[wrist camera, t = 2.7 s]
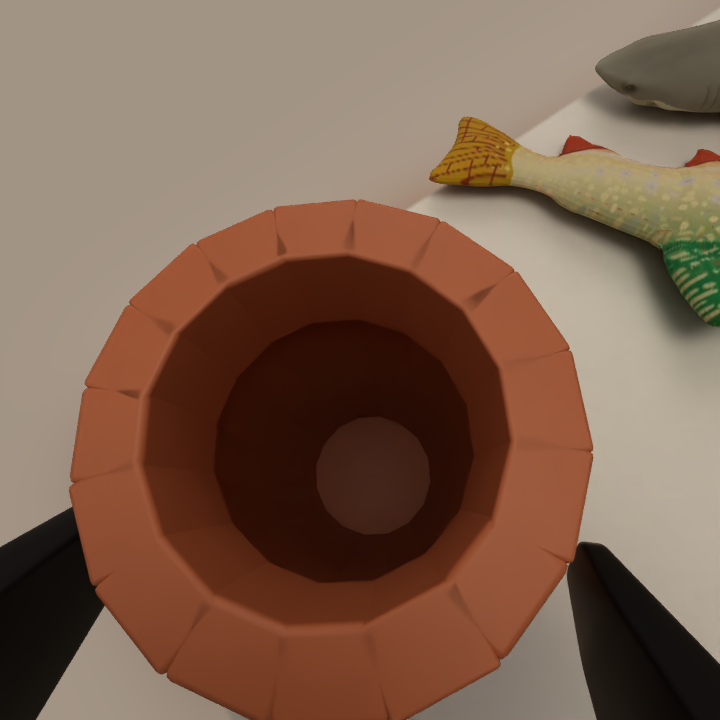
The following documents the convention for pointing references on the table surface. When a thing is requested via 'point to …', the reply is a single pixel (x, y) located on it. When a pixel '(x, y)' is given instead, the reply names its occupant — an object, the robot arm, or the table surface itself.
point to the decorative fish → (611, 198)
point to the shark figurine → (669, 69)
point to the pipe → (330, 464)
